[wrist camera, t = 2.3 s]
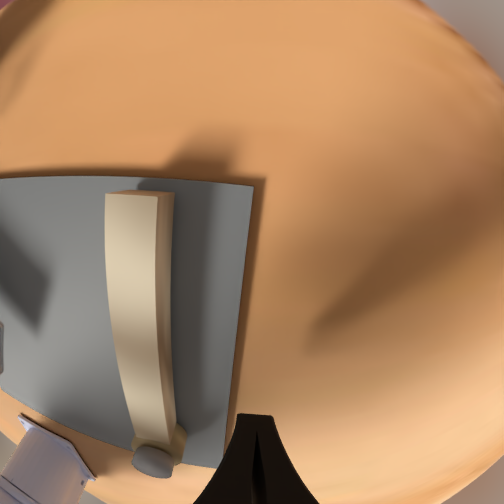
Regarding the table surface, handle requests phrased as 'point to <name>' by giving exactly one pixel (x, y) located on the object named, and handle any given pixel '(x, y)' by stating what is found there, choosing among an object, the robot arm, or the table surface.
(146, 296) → the link
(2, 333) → the block
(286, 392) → the table surface
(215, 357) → the base plate
